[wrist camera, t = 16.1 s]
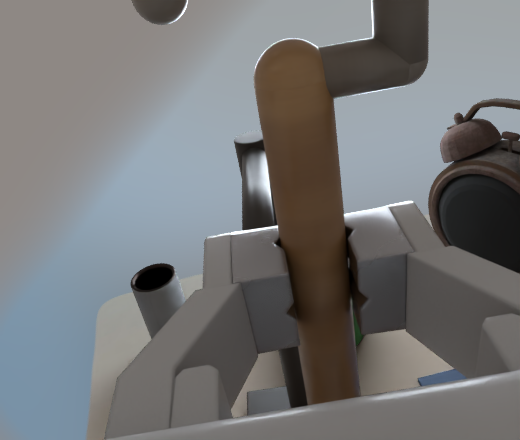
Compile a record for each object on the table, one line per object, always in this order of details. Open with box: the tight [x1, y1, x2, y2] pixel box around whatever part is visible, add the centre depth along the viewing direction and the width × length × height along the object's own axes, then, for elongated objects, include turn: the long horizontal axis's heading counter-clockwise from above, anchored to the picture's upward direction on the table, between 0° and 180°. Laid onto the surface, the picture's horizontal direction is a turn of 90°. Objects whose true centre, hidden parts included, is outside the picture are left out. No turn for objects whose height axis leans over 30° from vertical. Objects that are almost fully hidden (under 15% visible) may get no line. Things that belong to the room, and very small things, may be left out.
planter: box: [131, 263, 186, 339], centre depth 49 cm, size 4×4×10 cm
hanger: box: [132, 0, 429, 405], centre depth 10 cm, size 1×17×19 cm, turn 94°
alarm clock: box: [428, 98, 520, 274], centre depth 48 cm, size 14×7×20 cm, turn 36°
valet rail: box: [234, 131, 308, 415], centre depth 30 cm, size 18×10×27 cm, turn 2°
